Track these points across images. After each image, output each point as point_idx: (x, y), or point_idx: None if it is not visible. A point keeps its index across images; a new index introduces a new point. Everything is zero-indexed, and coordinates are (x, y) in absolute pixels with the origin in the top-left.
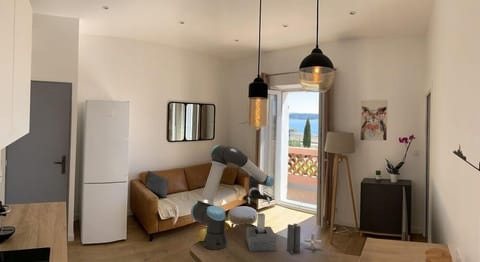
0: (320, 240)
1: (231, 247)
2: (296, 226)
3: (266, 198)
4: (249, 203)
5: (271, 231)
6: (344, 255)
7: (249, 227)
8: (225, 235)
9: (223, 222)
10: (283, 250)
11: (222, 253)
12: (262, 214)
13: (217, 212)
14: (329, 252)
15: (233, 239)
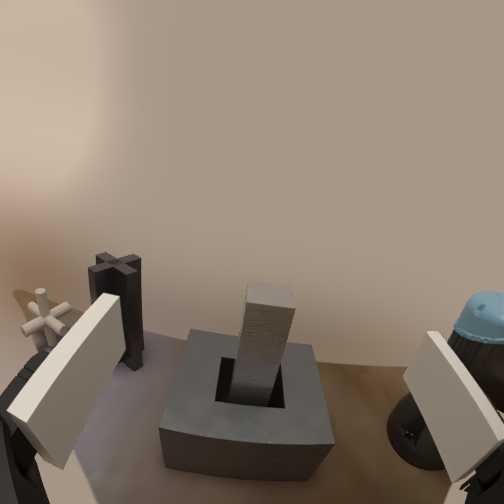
0: (31, 302)
1: (367, 418)
2: (112, 257)
3: (28, 484)
4: (408, 373)
5: (187, 370)
6: (20, 296)
7: (316, 435)
8: (415, 406)
9: (448, 340)
10: (155, 370)
11: (385, 383)
12: (260, 293)
13: (483, 291)
14: (32, 315)
15: (373, 484)
